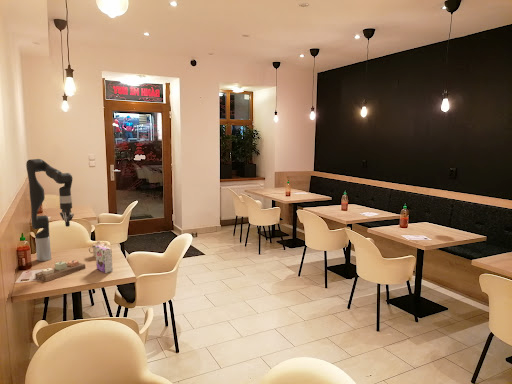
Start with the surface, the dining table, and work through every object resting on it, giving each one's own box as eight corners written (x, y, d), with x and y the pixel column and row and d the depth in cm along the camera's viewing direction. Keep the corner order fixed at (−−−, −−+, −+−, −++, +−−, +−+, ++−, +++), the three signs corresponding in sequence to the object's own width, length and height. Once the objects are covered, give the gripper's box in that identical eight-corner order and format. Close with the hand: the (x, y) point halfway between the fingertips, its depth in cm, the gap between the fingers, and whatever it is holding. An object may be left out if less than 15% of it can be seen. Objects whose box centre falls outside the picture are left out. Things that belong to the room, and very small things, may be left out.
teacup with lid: (106, 253, 301) (105, 239, 300) (105, 257, 293) (104, 242, 291) (90, 254, 298) (89, 240, 297) (88, 258, 290) (87, 243, 288)
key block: (35, 278, 249) (35, 273, 249) (74, 265, 273) (74, 261, 273) (46, 281, 243) (46, 276, 243) (85, 268, 267) (85, 264, 267)
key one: (42, 276, 250) (41, 269, 249) (49, 273, 254) (49, 267, 253) (46, 277, 247) (46, 270, 246) (54, 275, 251) (53, 268, 251)
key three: (67, 268, 265) (67, 261, 264) (74, 265, 269) (73, 259, 269) (72, 269, 262) (71, 263, 262) (78, 267, 267) (78, 260, 266)
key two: (55, 269, 257) (54, 263, 256) (62, 267, 261) (61, 260, 261) (59, 270, 254) (59, 264, 254) (66, 268, 259) (66, 262, 258)
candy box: (96, 268, 266) (94, 245, 264) (104, 266, 270) (103, 244, 268) (104, 273, 256) (103, 249, 254) (113, 271, 260) (111, 248, 258)
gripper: (54, 201, 266) (56, 226, 268) (66, 203, 259) (68, 228, 262) (65, 200, 272) (66, 224, 275) (76, 202, 265) (78, 226, 268)
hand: (67, 226), depth 268 cm, fingers closed
